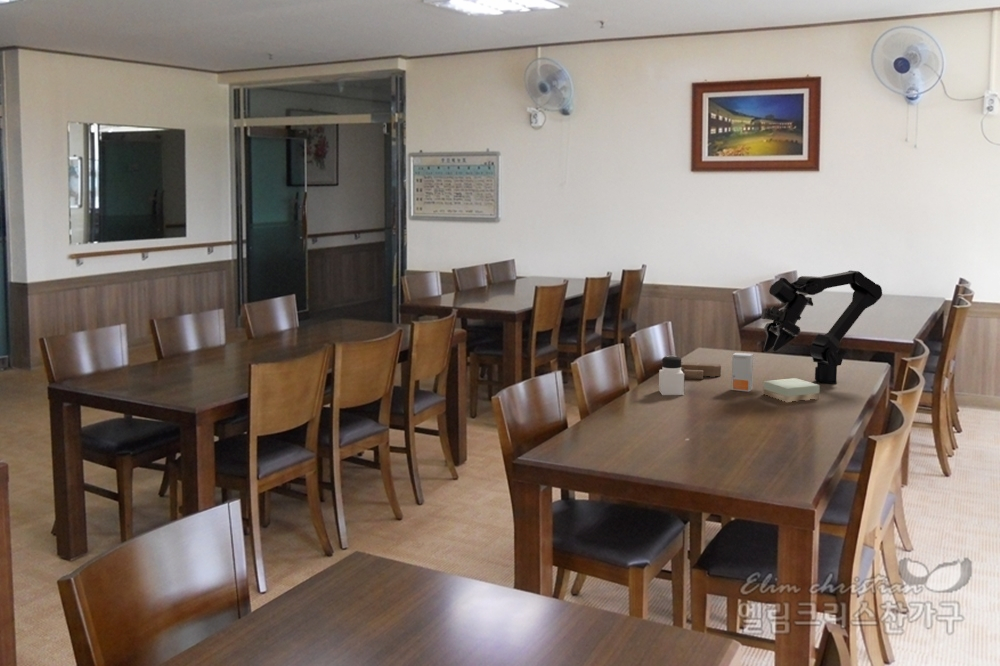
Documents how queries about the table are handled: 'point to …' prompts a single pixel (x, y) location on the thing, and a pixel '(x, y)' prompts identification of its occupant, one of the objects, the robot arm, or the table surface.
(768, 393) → the bottom slab
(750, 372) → the skincare box
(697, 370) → the wooden block set
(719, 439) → the table surface
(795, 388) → the top slab
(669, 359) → the medicine bottle
